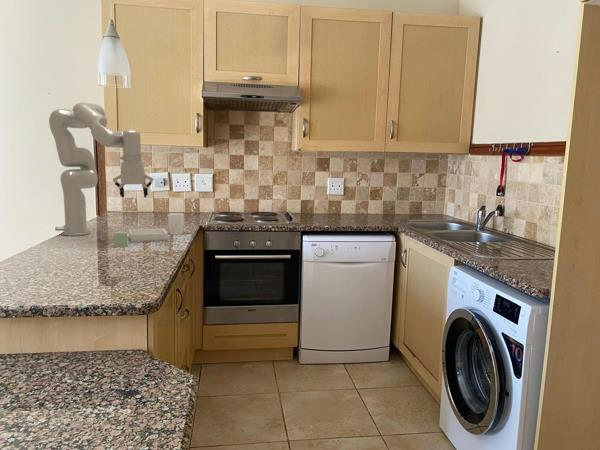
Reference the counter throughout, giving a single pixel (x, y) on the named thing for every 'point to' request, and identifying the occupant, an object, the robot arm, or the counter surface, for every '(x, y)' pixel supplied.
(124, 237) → the green block
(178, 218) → the white cup
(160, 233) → the white bin
